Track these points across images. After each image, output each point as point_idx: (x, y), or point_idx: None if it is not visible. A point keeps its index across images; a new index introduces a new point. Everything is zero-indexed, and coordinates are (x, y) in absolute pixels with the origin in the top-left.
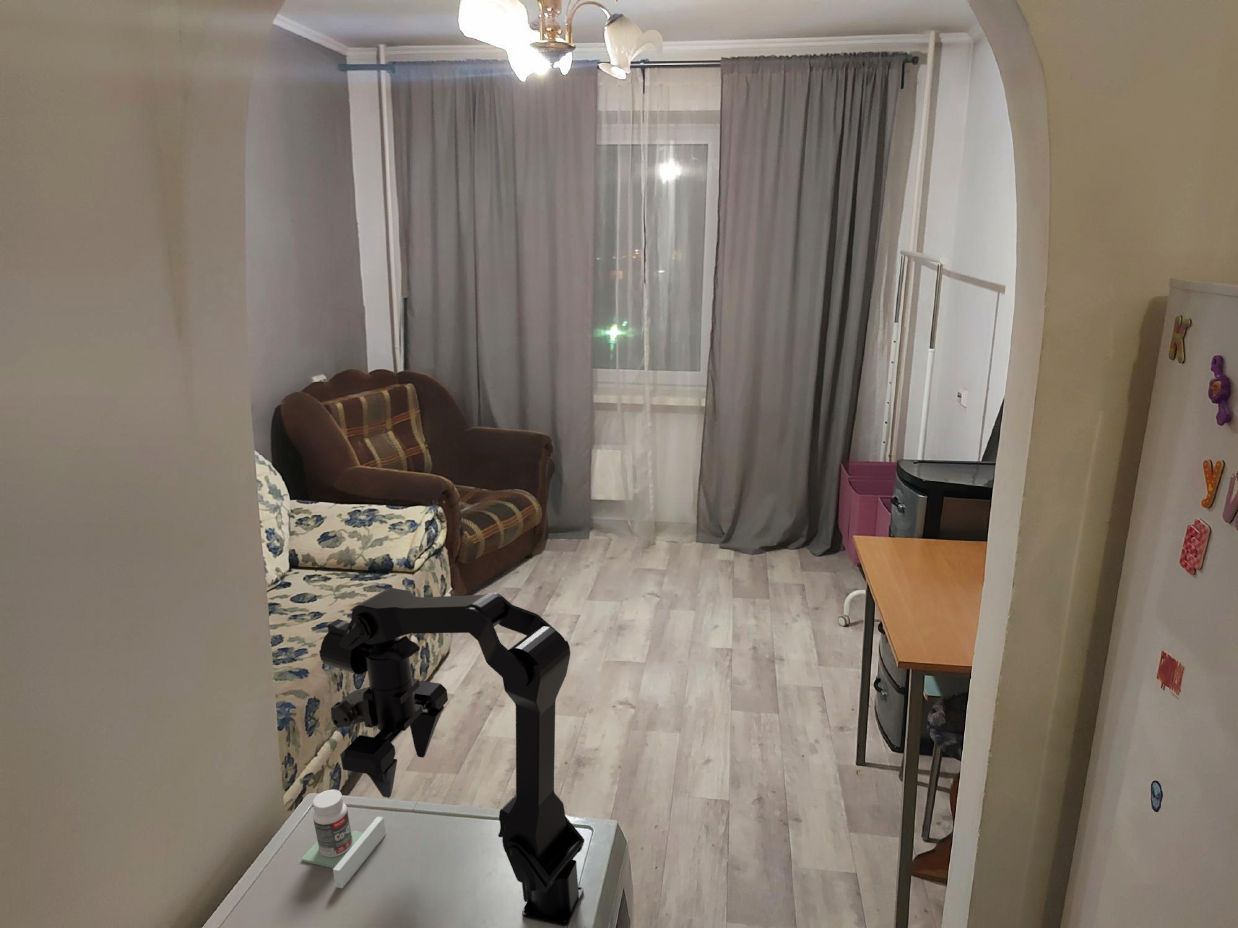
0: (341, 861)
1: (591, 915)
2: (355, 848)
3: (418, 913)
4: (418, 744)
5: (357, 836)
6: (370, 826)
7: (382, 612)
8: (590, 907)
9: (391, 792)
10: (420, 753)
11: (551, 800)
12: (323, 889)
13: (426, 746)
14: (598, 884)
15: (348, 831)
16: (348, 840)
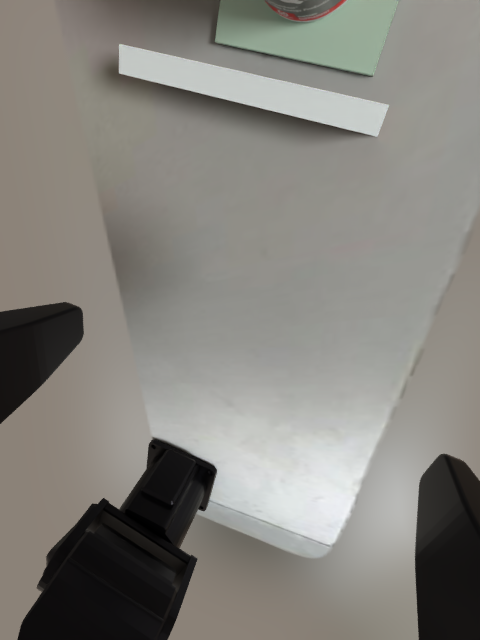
0: (154, 59)
1: None
2: (212, 87)
3: (129, 294)
4: (458, 566)
5: (366, 19)
6: (325, 98)
7: None
8: None
9: (60, 359)
10: (430, 493)
11: None
12: (145, 15)
13: (417, 591)
14: (218, 520)
15: (289, 1)
16: (288, 11)
